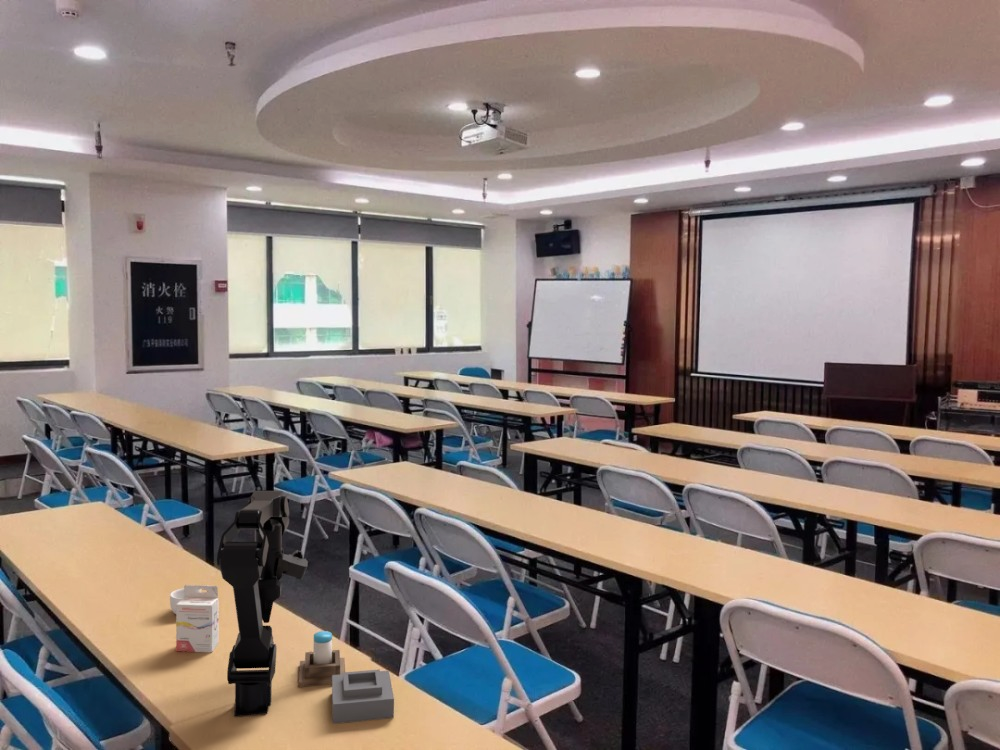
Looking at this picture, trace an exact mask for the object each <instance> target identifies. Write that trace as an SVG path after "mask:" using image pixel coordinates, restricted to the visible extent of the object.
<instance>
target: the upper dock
mask: <svg viewBox="0 0 1000 750" xmlns="http://www.w3.org/2000/svg"><path fill="white" fill-rule="evenodd" d="M331 686H332V687H331V706H332V707H331V708H332V724H334V725H335V724H342V723H352V722H354V723H355V722H364V721H373V720H375V721H376V720H384V719H393V718H394V717H395V714H394V713H395V697H394V691H393V687H392V680H391V673H390V670H380V669H370V670H369V669H368V670H357V671H345V672H343V674H340V675H332V684H331Z"/></svg>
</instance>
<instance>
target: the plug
mask: <svg viewBox="0 0 1000 750" xmlns="http://www.w3.org/2000/svg"><path fill="white" fill-rule="evenodd" d="M332 650H333V634H332V632H330V631H327V630H322V631H318V632H315V633H314V634H313V652H314V656H313V665H323V664H332Z"/></svg>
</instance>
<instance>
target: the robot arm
mask: <svg viewBox="0 0 1000 750" xmlns="http://www.w3.org/2000/svg"><path fill="white" fill-rule="evenodd" d="M289 517H290V509H289V502H288V497H287V495H285V492H284V491H283V490H255V491H254V492H253V493H252V495H250V496H249V500H247V506H245V507H243V508H241V509H240V510H236V512H235V515H234V521H233V522H232V523H231V524H230V525H229V527H227V528H226V529H225V531H224V532H223V533H222V535H221V537H220V541H219V546H218V550H217V554H216V555H217V556H216V565H217V567H219V569H220V574H221V577H222V579H223V580H224V581H225V582H227V584H228V585H230V586H231V587H232V591H233V596H234V603H235V612H236V618H237V619H236V620H237V626H238V634H237V635H236V636H237V637H236V640H235V644H234V645H233V646H232V650H231V651H230V652H229V657H228V665H227V672H226V673H227V677H226V679H227V684H228V685H233V684H234V687H235V688H234V695H235V696H234V697H235V698H234V701H235V702H234V706H235V707H234V712H233V717H243V716H244V717H246V716H256V715H265V714H268V713H269V707H271V705H272V693H273V692H272V689H273V688H272V681H273V679H274V677H275V674H276V667H277V666H276V665H277V664H276V663H277V649H278V648H277V644H276V643H274V636H273V629H272V627H271V625H264V624H263V623H265V624H267V623H270V620H271V615H272V610H273V604H274V602H275V601H276V600H279V599H280V597H281V594H282V582H281V581H280V580H281V579H282V578H283V576H284V575H286V576H289V577H293V578H295V579H297V580H303V579H304V576H305V573H306V571H307V569H308V566H309V565H308V563H309V561H308V560H307V558H304V554H303V551H301V550H297V549H296V550H295V551H294V552H292V553H289V554H285V553H284V548H283V545H282V543H283V541H282V539H283V538H282V536H284V533H285V532H286V531H287V528H288V527H289V525H290V518H289ZM241 530H247V531H248V530H249V531H250V530H252V531H253V530H254V541H233V540H234V539H235V538H236V537H237V536H238V535H239V533H240V531H241ZM237 669H239V670H237ZM246 669H247V670H246Z"/></svg>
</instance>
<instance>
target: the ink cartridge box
mask: <svg viewBox="0 0 1000 750" xmlns="http://www.w3.org/2000/svg"><path fill="white" fill-rule="evenodd" d="M183 588H184V594H185V597H184V598H183V599H182V600H181V601H180V602H178V603H177V612H176V614H175V615H176V618H175V619H176V621H175V622H176V623H175V624H176V625H175V626H176V627H175V628H176V630H175V631H176V635H175V639H176V641H175V643H176V644H175V645H176V646H175V647H176V648H175V649H176V650H175V651H176V652H177V651H183V652H182V653H213V651H214V650H215V648H216V647H218V644H219V616H220V615H219V613H220V611H219V609H220V608H219V604H220V603H219V600H220V599H219V595H218V594H219V593H218V592H219V591H218V589H219V587H218V586H217V585H205V584H204V585H203V584H201V585H200V584H185V585H184V587H183ZM195 590H201V592H195ZM203 591H206V592H203ZM185 651H187V652H185Z"/></svg>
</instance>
